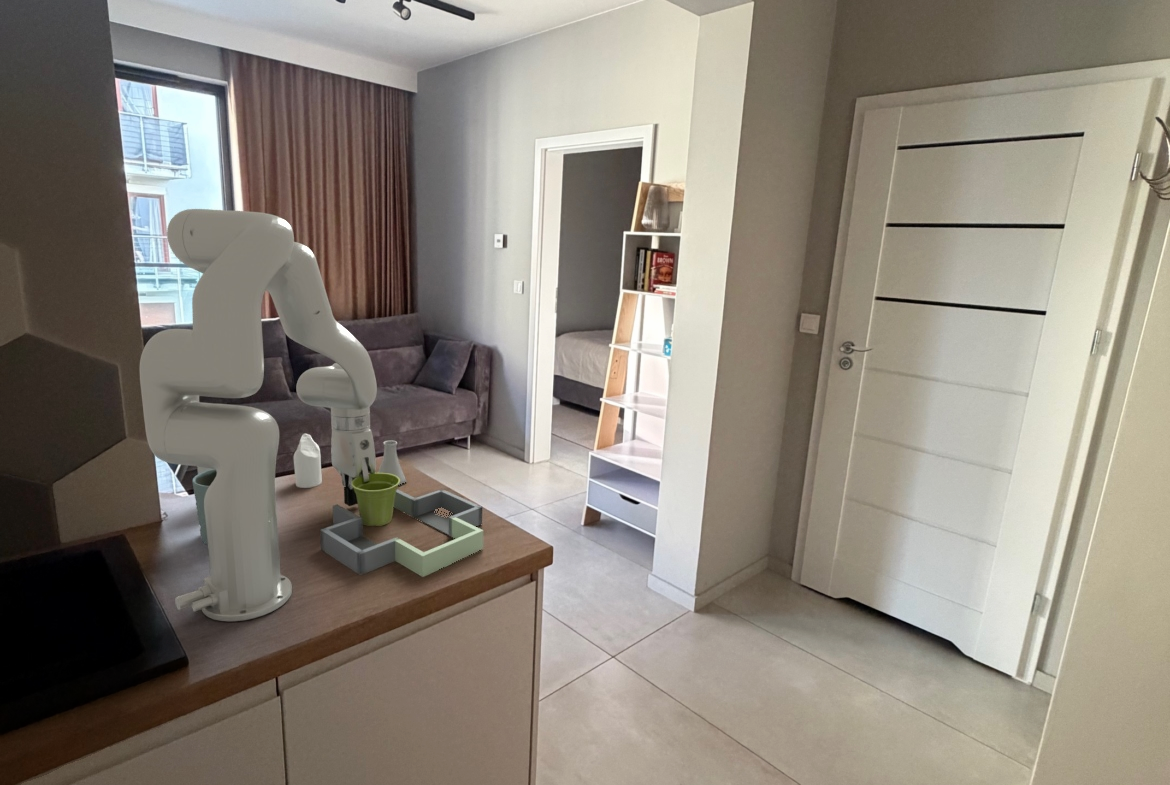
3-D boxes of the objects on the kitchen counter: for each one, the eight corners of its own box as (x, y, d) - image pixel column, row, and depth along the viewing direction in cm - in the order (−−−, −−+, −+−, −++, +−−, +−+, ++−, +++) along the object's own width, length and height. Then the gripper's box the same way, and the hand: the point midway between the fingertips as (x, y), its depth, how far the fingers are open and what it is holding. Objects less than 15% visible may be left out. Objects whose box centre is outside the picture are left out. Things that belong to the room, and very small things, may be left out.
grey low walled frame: (387, 593, 102) (387, 571, 101) (299, 535, 119) (298, 516, 118) (509, 537, 123) (509, 519, 122) (419, 495, 140) (419, 478, 139)
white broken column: (308, 439, 137) (286, 436, 138) (310, 489, 140) (289, 486, 141) (325, 432, 143) (304, 429, 144) (327, 480, 146) (306, 477, 147)
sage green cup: (192, 532, 117) (186, 473, 115) (250, 519, 124) (246, 462, 121) (205, 553, 110) (199, 491, 107) (266, 538, 117) (262, 479, 114)
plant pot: (410, 519, 128) (409, 480, 126) (373, 535, 121) (372, 494, 119) (379, 507, 133) (379, 469, 131) (342, 521, 125) (341, 482, 123)
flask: (412, 483, 147) (411, 444, 144) (383, 490, 142) (382, 449, 140) (398, 474, 152) (397, 435, 150) (369, 480, 147) (368, 440, 145)
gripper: (387, 425, 126) (389, 508, 130) (347, 410, 135) (349, 488, 139) (354, 433, 120) (357, 519, 124) (314, 416, 129) (318, 498, 133)
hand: (353, 503), depth 132 cm, fingers closed
